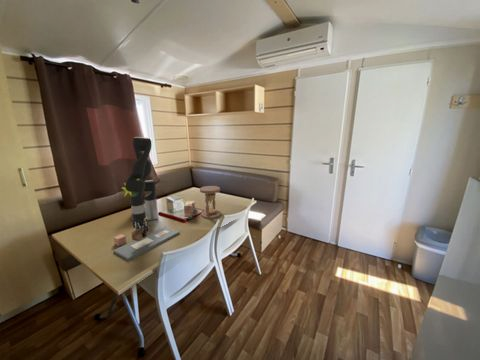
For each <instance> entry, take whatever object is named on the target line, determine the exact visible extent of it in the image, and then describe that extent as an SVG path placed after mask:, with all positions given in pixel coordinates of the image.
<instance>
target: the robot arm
mask: <svg viewBox="0 0 480 360" xmlns="http://www.w3.org/2000/svg"><path fill="white" fill-rule="evenodd" d="M152 146H153V145H152V140H151V139H150V137H142V136H135V137H133V139H132V147H133V152H134V154H135V158H136V160H135V161H134V162H133V165H132V168H131V173H130V174H129V176H128V178H127V180H126V181H125V184H124V186H125V188H126V190H127V191H129V192H138V194H136V195H133V196H131V198H130V197H129V198H130V199H129V200H130V205H131V208H130V211H131V216H132V219H131V223H132V227H133V229H134V231H135V230H137V229H138V228H140V229H141V231H142V237H143V238H144V237H146V231H148V227H149V223H148V222H149V221H154V220H157V219H159V211H158V201H157V193H156V181H155V180H154V179H149V180H146V179H147V178H148V177H149V176H150V174H151V173H152V170H153V169H152V162H151V161H150V160H149V157H150V153H151V150H152ZM137 179H139V180H137ZM129 192H128V193H129ZM147 192H149V193H148V194H146V195H145V193H147ZM144 195H145V196H144ZM145 219H146V220H147V221H148V222H146V221H145ZM142 226H143V227H142Z"/></svg>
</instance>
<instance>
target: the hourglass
mask: <svg viewBox="0 0 480 360" xmlns="http://www.w3.org/2000/svg"><path fill="white" fill-rule="evenodd" d="M199 192H200V193H202V194H204V196H205V200H204V201H205V203H206V204H205V205H206V206H205V210H204V211H202V212H201V213H200V217H201V218H202V217H203V218H202V219H205V220H214V219H218V218H219V217H221V215H222V213H221V211H220V210H218V209H216V200H215V199H216V194H217V193H219V192H221V188H220V187H219V186H217V185H205V186H201V187H200V188H199ZM209 203H210V204H212V208H210V207H209Z"/></svg>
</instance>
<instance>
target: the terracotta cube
mask: <svg viewBox="0 0 480 360" xmlns="http://www.w3.org/2000/svg"><path fill="white" fill-rule="evenodd" d="M113 242H114V245H116V246H118V247H121V246H124V245H126V244H127V237H126V235H124V234H122V233H120V234H118V235H116V236H114V237H113Z"/></svg>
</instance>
